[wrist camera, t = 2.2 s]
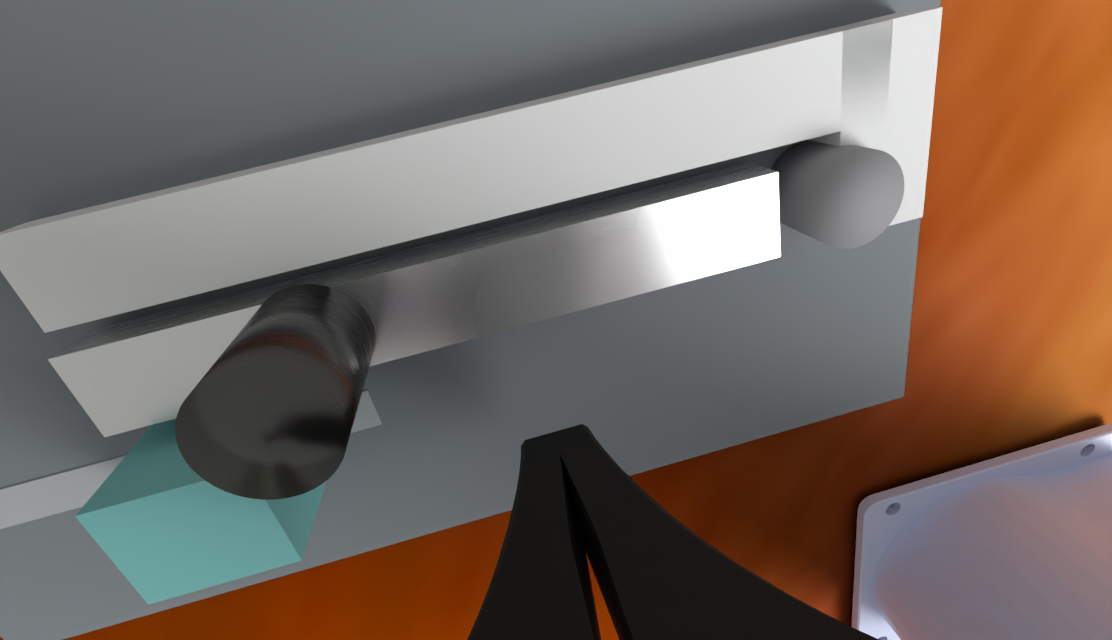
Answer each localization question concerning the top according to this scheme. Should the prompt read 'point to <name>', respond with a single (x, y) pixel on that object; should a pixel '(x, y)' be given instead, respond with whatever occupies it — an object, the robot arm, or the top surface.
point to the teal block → (189, 523)
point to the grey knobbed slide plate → (443, 232)
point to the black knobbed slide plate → (394, 323)
